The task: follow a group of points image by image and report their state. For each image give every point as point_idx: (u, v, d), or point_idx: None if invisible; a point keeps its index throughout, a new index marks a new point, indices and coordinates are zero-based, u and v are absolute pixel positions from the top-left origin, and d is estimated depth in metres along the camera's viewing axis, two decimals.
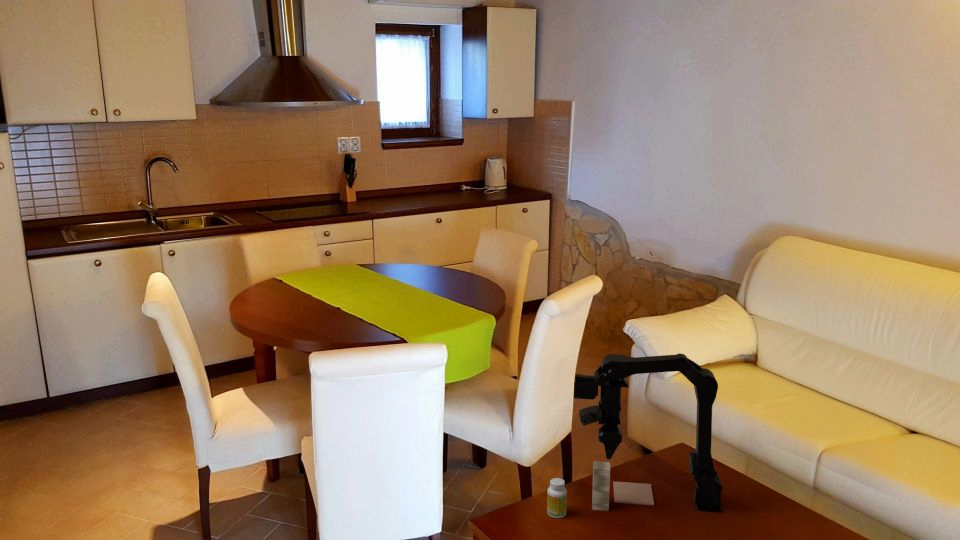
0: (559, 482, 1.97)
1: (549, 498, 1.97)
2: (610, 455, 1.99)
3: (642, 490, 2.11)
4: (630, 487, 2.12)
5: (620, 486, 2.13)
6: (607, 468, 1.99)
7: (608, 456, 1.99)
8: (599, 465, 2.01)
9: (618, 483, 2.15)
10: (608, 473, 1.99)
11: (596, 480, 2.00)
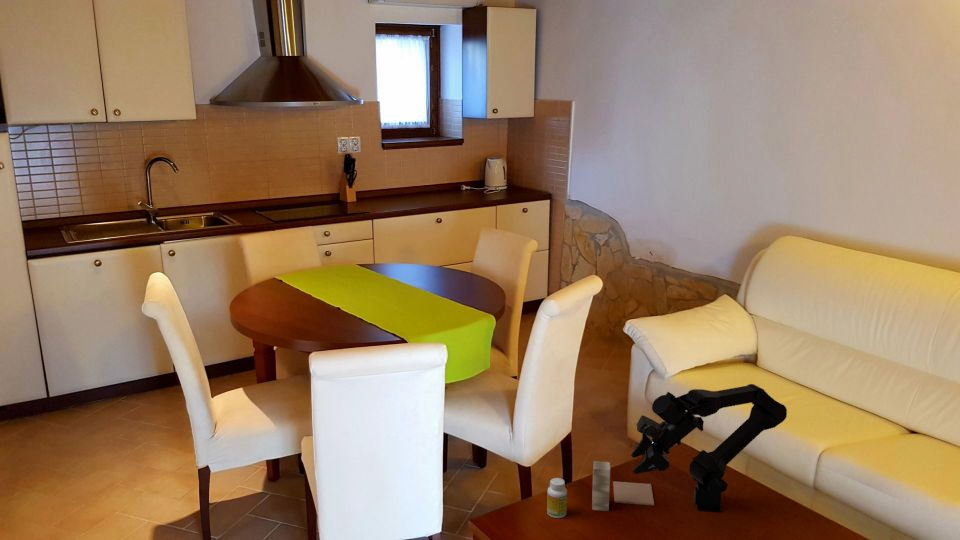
0: (559, 482, 1.97)
1: (549, 498, 1.97)
2: (639, 471, 1.94)
3: (642, 490, 2.11)
4: (630, 487, 2.12)
5: (620, 486, 2.13)
6: (607, 468, 1.99)
7: (636, 470, 1.94)
8: (599, 465, 2.01)
9: (618, 483, 2.15)
10: (608, 473, 1.99)
11: (596, 480, 2.00)
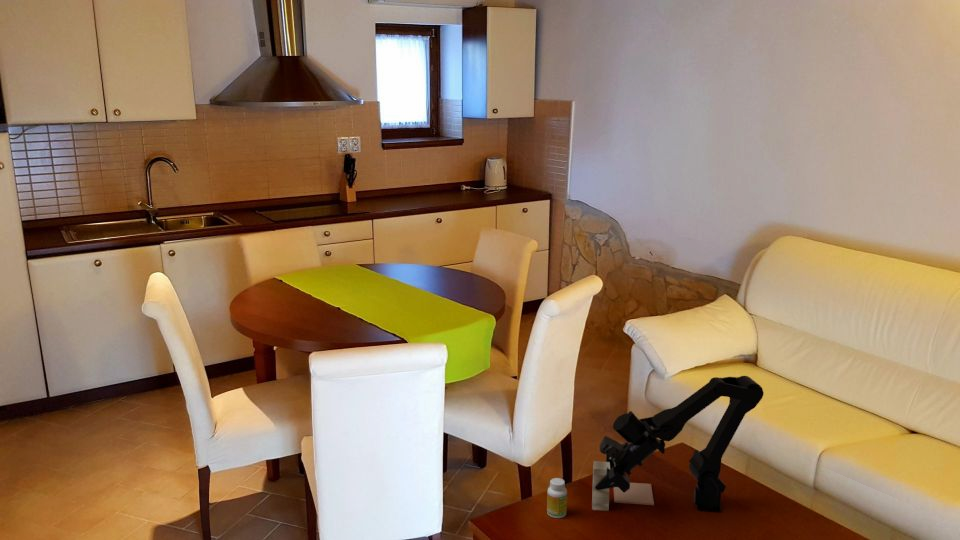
0: (559, 482, 1.97)
1: (549, 498, 1.97)
2: (601, 487, 1.99)
3: (642, 490, 2.11)
4: (630, 487, 2.12)
5: None
6: None
7: (598, 487, 1.99)
8: (599, 465, 2.01)
9: None
10: None
11: (596, 480, 2.00)
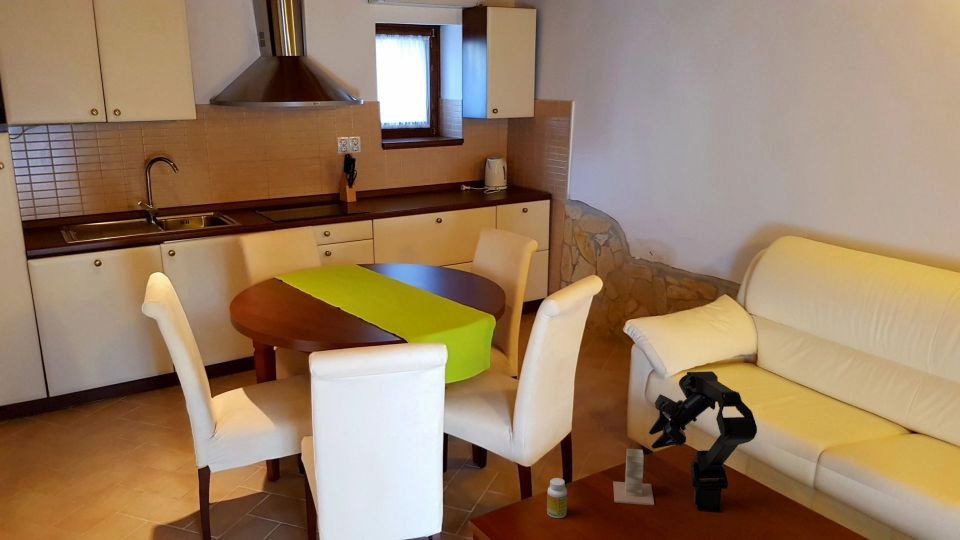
0: (559, 482, 1.97)
1: (549, 498, 1.97)
2: (657, 446, 2.08)
3: (642, 490, 2.11)
4: None
5: (620, 486, 2.13)
6: (641, 455, 2.05)
7: (654, 445, 2.08)
8: (633, 452, 2.07)
9: (618, 483, 2.15)
10: (641, 460, 2.05)
11: (629, 467, 2.06)
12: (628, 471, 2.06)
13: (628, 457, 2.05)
